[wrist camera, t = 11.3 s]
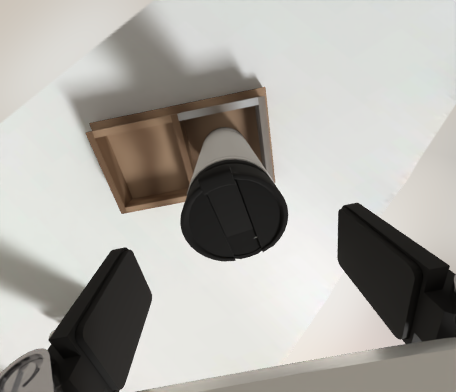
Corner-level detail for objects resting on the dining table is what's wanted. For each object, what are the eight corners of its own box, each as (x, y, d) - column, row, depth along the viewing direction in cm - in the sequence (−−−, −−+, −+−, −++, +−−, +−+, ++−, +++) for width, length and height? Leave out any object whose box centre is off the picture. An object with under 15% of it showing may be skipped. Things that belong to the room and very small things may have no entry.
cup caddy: (130, 206, 34) (118, 220, 30) (95, 122, 29) (75, 125, 25) (272, 179, 34) (280, 190, 30) (263, 87, 28) (270, 85, 24)
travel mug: (238, 117, 28) (275, 150, 10) (252, 163, 31) (303, 255, 13) (194, 134, 29) (153, 193, 11) (212, 177, 31) (204, 285, 13)
